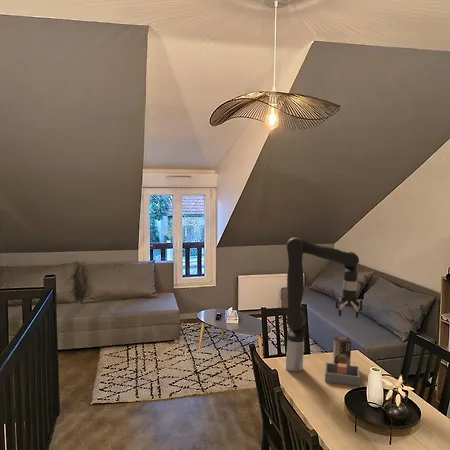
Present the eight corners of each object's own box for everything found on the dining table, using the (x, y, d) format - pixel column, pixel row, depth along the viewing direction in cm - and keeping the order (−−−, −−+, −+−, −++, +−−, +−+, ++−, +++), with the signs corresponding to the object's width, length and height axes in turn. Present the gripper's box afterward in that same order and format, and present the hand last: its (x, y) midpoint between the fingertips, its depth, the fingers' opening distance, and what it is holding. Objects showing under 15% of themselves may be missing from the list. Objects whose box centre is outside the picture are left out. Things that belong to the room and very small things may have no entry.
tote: (324, 381, 234) (325, 373, 233) (325, 371, 247) (325, 362, 246) (359, 386, 229) (359, 377, 229) (357, 375, 242) (358, 366, 242)
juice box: (337, 378, 236) (338, 366, 236) (337, 375, 241) (338, 363, 240) (346, 379, 235) (346, 367, 234) (345, 376, 240) (346, 364, 239)
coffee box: (348, 363, 257) (349, 337, 255) (350, 368, 251) (351, 341, 249) (332, 362, 258) (333, 336, 256) (334, 367, 252) (335, 340, 250)
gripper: (336, 288, 239) (335, 317, 241) (363, 291, 236) (362, 320, 237) (336, 285, 246) (335, 313, 248) (362, 287, 243) (361, 316, 245)
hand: (348, 316), depth 243 cm, fingers open, 8 cm apart
